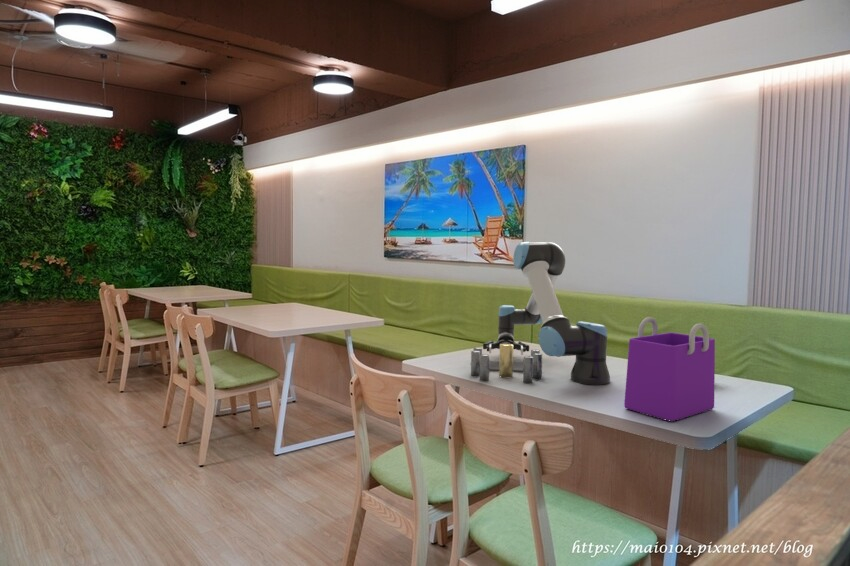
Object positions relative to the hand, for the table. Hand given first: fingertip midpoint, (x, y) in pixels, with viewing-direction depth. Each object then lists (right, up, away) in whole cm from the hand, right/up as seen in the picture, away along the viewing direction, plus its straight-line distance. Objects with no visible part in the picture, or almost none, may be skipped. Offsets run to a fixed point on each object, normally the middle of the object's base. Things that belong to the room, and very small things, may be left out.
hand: (506, 350), depth 233 cm
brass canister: (-1, -9, -9) cm, 13 cm away
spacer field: (-1, -9, -9) cm, 13 cm away
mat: (+1, -8, +7) cm, 10 cm away
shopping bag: (+46, -13, -52) cm, 71 cm away
